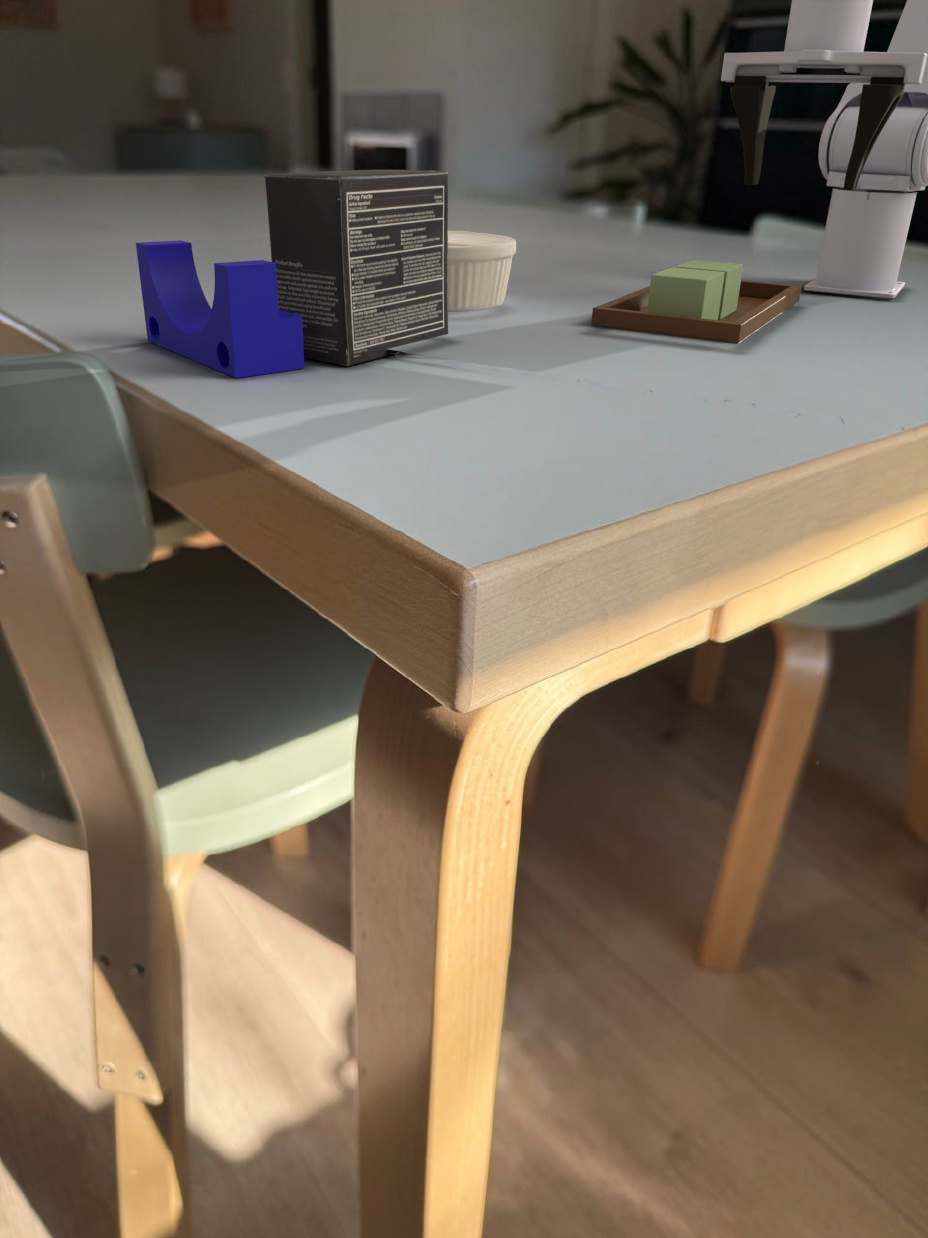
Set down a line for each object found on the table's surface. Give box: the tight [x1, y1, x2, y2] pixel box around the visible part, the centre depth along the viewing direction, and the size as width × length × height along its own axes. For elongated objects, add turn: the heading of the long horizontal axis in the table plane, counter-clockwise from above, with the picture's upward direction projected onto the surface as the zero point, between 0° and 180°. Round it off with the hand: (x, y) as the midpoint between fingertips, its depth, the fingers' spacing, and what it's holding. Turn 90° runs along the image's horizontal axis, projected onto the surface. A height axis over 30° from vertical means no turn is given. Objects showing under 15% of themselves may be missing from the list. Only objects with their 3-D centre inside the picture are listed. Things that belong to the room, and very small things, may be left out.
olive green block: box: [674, 259, 744, 320], centre depth 73 cm, size 5×4×4 cm
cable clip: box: [135, 240, 305, 379], centre depth 58 cm, size 12×4×6 cm, turn 40°
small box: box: [264, 169, 449, 367], centre depth 60 cm, size 11×6×10 cm, turn 145°
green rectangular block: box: [647, 266, 725, 320], centre depth 69 cm, size 5×4×4 cm
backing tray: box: [590, 279, 802, 345], centre depth 74 cm, size 22×11×2 cm, turn 152°
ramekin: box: [447, 230, 517, 312], centre depth 75 cm, size 11×11×5 cm
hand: (799, 186), depth 76 cm, fingers open, 7 cm apart
